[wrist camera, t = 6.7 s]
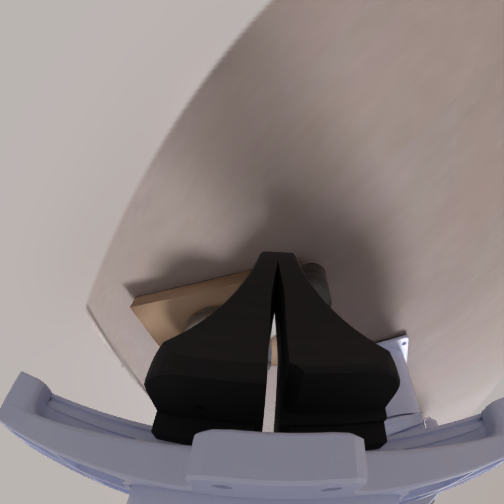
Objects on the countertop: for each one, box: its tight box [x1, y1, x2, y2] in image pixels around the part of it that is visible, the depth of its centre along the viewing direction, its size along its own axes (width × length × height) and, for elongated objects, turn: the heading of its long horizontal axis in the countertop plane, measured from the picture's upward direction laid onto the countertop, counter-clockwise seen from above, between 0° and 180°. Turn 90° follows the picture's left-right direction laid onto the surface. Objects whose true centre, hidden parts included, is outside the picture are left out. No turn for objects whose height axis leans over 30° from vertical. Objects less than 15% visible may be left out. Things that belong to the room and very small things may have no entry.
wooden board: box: [130, 258, 301, 366], centre depth 26 cm, size 11×16×2 cm
